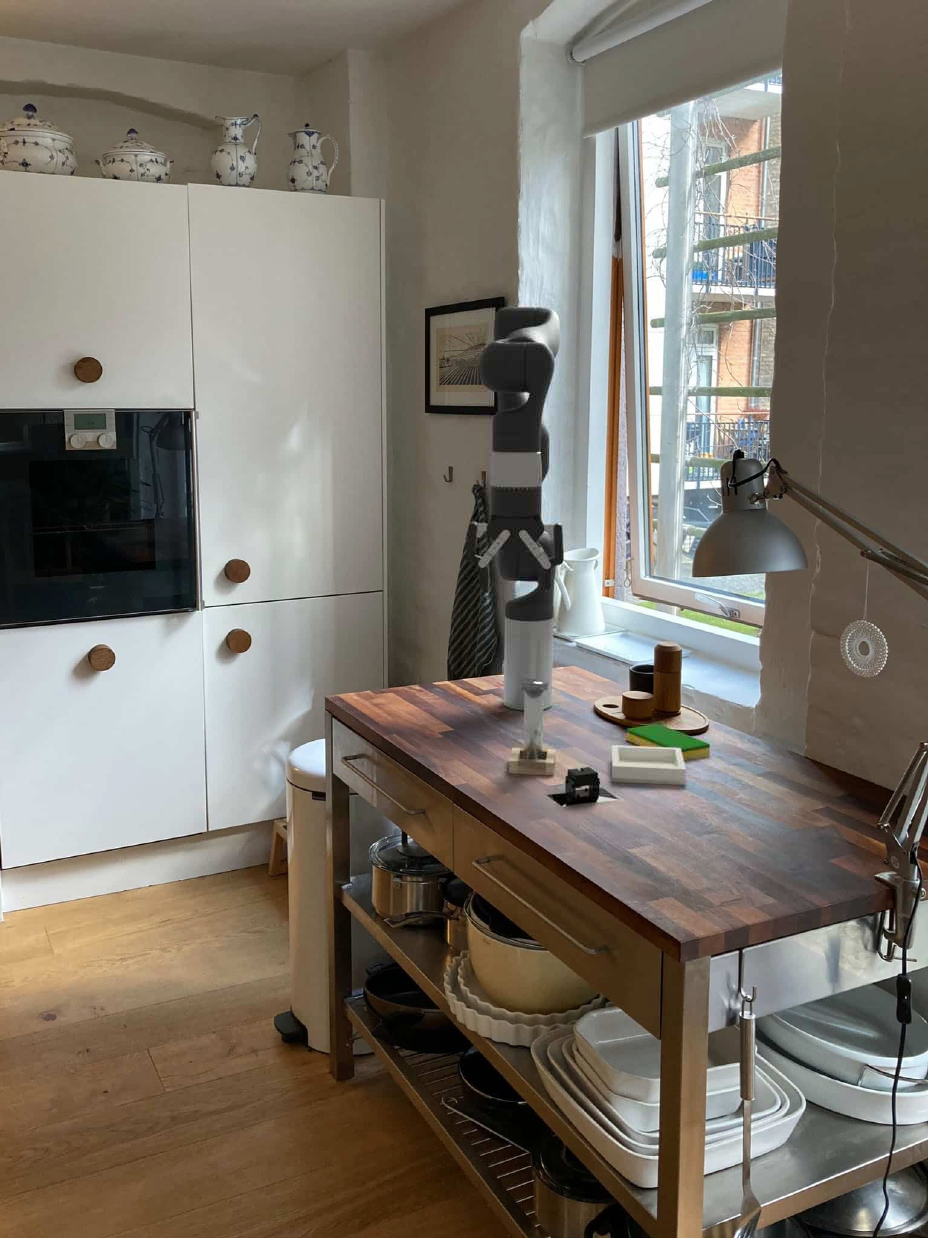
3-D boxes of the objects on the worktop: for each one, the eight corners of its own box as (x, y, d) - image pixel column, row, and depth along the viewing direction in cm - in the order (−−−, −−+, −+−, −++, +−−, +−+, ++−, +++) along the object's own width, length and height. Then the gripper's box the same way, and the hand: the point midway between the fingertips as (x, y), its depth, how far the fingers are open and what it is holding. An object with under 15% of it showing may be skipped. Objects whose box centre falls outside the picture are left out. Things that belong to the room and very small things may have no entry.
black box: (608, 788, 171) (609, 759, 170) (631, 804, 164) (632, 774, 163) (533, 798, 167) (534, 768, 166) (554, 814, 160) (554, 783, 159)
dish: (611, 760, 183) (611, 745, 183) (679, 762, 182) (680, 748, 181) (612, 781, 172) (612, 766, 172) (685, 785, 171) (686, 769, 171)
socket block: (512, 759, 183) (512, 747, 183) (555, 761, 182) (555, 749, 182) (509, 773, 176) (509, 761, 176) (553, 775, 175) (554, 762, 175)
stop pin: (519, 762, 181) (521, 677, 179) (547, 763, 181) (549, 678, 178) (517, 771, 177) (519, 684, 175) (545, 772, 177) (547, 685, 174)
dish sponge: (676, 764, 183) (677, 749, 182) (625, 741, 195) (625, 728, 194) (710, 758, 186) (711, 743, 186) (657, 736, 198) (658, 723, 198)
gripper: (565, 481, 167) (563, 589, 170) (470, 480, 169) (470, 587, 172) (564, 485, 160) (562, 598, 163) (464, 484, 161) (464, 595, 164)
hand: (514, 592), depth 167 cm, fingers open, 8 cm apart
